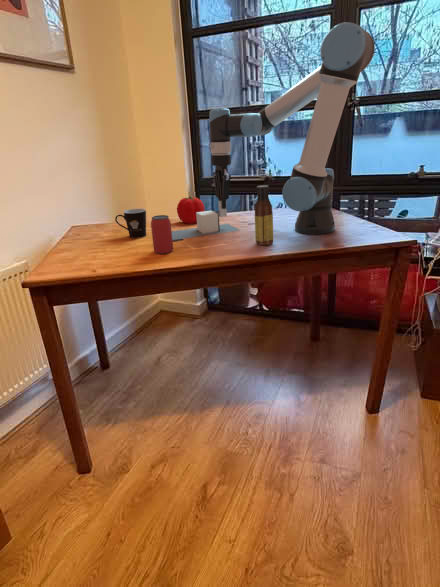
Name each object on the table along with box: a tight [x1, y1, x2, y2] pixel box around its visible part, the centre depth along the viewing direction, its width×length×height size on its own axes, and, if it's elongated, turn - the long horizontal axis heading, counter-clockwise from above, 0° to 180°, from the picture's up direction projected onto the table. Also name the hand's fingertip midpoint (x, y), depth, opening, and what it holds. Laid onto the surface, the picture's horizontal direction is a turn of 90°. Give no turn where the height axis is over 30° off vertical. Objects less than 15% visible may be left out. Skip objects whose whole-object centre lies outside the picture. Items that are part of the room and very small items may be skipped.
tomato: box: [176, 196, 206, 225], centre depth 167 cm, size 12×13×12 cm
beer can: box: [150, 214, 174, 255], centre depth 129 cm, size 7×7×12 cm
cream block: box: [196, 210, 221, 233], centre depth 151 cm, size 7×7×7 cm
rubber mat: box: [171, 223, 240, 243], centre depth 152 cm, size 13×28×1 cm, turn 112°
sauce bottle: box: [254, 184, 274, 247], centre depth 130 cm, size 7×6×20 cm
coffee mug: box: [115, 208, 147, 239], centre depth 150 cm, size 12×9×10 cm
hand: (222, 216), depth 153 cm, fingers closed
